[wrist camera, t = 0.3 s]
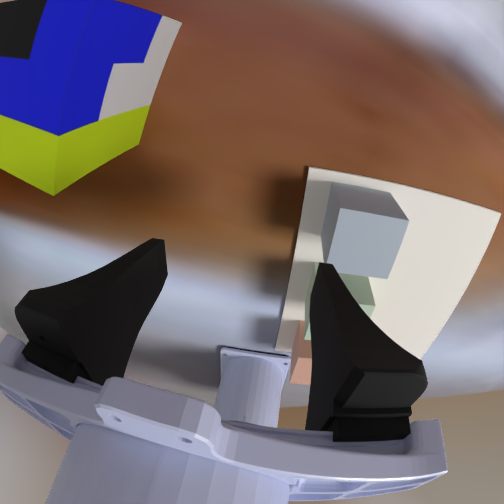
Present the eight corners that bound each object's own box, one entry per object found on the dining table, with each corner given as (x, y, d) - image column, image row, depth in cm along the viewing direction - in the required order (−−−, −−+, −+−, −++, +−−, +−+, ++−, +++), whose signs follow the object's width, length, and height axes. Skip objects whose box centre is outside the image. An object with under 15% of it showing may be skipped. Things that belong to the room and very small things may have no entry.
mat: (418, 358, 30) (419, 360, 29) (275, 347, 31) (275, 350, 31) (499, 212, 18) (501, 213, 18) (309, 166, 20) (309, 167, 19)
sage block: (351, 307, 26) (356, 344, 22) (304, 301, 26) (304, 339, 23) (366, 268, 23) (375, 305, 20) (314, 261, 24) (316, 299, 20)
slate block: (374, 243, 22) (387, 279, 18) (320, 235, 22) (324, 270, 19) (389, 192, 19) (409, 220, 16) (331, 181, 20) (340, 207, 16)
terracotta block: (332, 352, 30) (333, 386, 26) (291, 348, 30) (289, 382, 26) (344, 325, 27) (347, 361, 24) (299, 320, 28) (298, 357, 24)
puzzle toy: (182, 22, 15) (96, -4, 7) (139, 144, 20) (53, 196, 12) (81, 8, 14) (-13, 5, 5) (52, 113, 19) (-34, 149, 11)
